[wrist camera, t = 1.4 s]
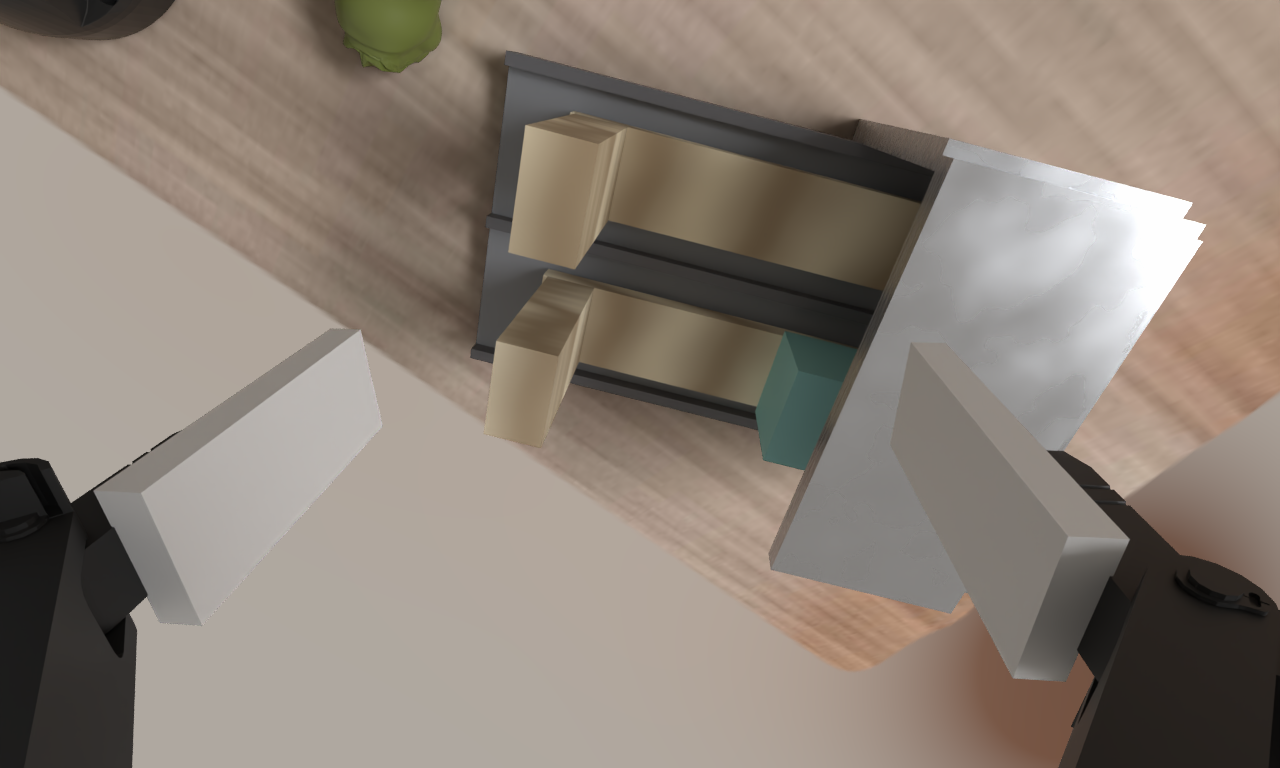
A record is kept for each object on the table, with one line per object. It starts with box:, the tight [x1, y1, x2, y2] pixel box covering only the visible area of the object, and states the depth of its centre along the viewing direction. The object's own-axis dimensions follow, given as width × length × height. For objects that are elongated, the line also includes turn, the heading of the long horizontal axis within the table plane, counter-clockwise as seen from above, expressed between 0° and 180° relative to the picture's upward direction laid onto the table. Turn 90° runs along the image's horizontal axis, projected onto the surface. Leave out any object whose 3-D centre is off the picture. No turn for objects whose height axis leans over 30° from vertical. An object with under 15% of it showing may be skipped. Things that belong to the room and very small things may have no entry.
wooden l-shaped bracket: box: [484, 269, 858, 448], centre depth 30 cm, size 20×4×10 cm, turn 77°
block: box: [755, 331, 857, 470], centre depth 31 cm, size 5×5×5 cm
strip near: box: [508, 111, 922, 291], centre depth 26 cm, size 20×4×10 cm, turn 77°
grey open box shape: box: [769, 119, 1206, 614], centre depth 28 cm, size 9×18×13 cm, turn 167°
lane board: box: [470, 51, 935, 430], centre depth 33 cm, size 24×16×2 cm, turn 77°
